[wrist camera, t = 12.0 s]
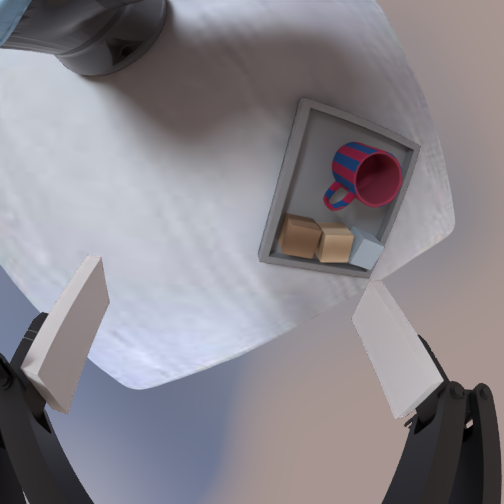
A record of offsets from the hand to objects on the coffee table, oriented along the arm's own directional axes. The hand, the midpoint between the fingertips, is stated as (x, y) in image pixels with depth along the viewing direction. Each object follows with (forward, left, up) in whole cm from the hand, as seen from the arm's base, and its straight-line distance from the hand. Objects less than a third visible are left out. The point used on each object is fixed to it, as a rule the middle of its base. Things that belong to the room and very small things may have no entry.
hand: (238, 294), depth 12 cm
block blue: (+5, +20, -23) cm, 31 cm away
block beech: (+5, +15, -23) cm, 28 cm away
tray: (-1, +15, -24) cm, 28 cm away
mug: (-4, +14, -23) cm, 27 cm away
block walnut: (+5, +10, -23) cm, 26 cm away
